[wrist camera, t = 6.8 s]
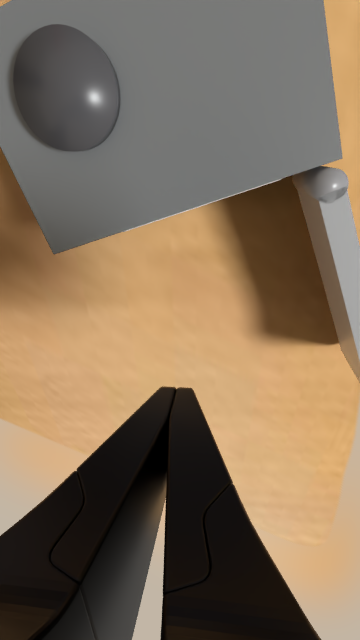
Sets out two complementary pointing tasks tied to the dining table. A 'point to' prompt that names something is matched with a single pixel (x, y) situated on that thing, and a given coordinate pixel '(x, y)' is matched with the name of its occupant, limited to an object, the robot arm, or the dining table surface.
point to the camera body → (159, 106)
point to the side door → (335, 251)
